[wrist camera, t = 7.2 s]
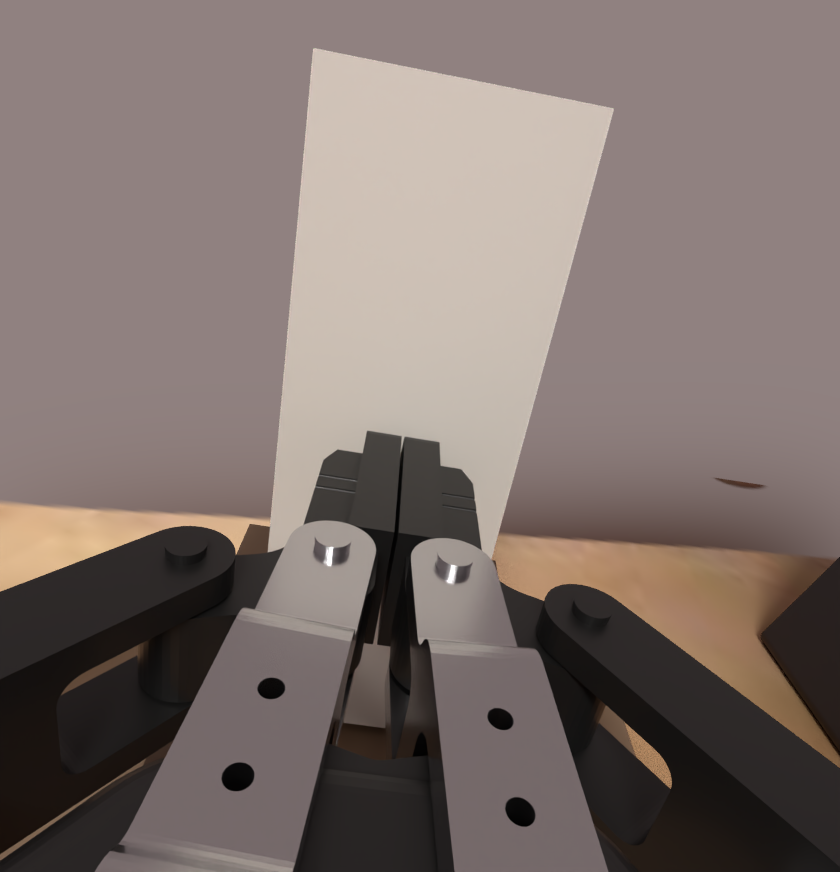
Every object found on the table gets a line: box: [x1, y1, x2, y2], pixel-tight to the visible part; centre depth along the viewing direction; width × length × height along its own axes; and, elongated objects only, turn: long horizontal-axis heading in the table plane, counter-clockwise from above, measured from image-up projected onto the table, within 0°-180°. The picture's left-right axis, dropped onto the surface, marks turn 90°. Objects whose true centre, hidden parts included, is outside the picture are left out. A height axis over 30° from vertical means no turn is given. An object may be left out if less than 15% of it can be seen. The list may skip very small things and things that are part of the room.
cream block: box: [268, 48, 614, 728], centre depth 16 cm, size 5×5×15 cm
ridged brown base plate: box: [0, 524, 636, 860], centre depth 16 cm, size 16×13×3 cm
